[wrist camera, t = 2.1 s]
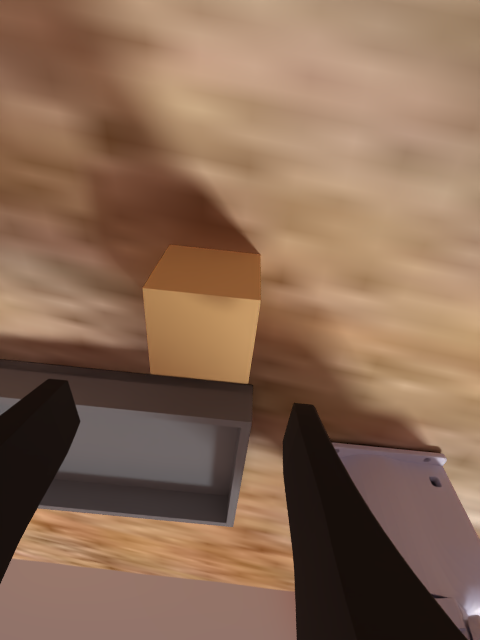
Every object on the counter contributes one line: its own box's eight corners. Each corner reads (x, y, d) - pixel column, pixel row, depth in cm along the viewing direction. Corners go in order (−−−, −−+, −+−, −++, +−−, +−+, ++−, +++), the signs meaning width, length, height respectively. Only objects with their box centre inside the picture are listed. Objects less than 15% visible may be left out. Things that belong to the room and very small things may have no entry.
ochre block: (260, 253, 16) (261, 300, 12) (250, 326, 19) (248, 383, 15) (169, 244, 16) (142, 287, 12) (172, 318, 19) (150, 373, 15)
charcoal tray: (252, 385, 21) (251, 422, 19) (235, 491, 29) (232, 527, 27) (-47, 354, 21) (-88, 388, 18) (18, 469, 29) (-5, 504, 26)
